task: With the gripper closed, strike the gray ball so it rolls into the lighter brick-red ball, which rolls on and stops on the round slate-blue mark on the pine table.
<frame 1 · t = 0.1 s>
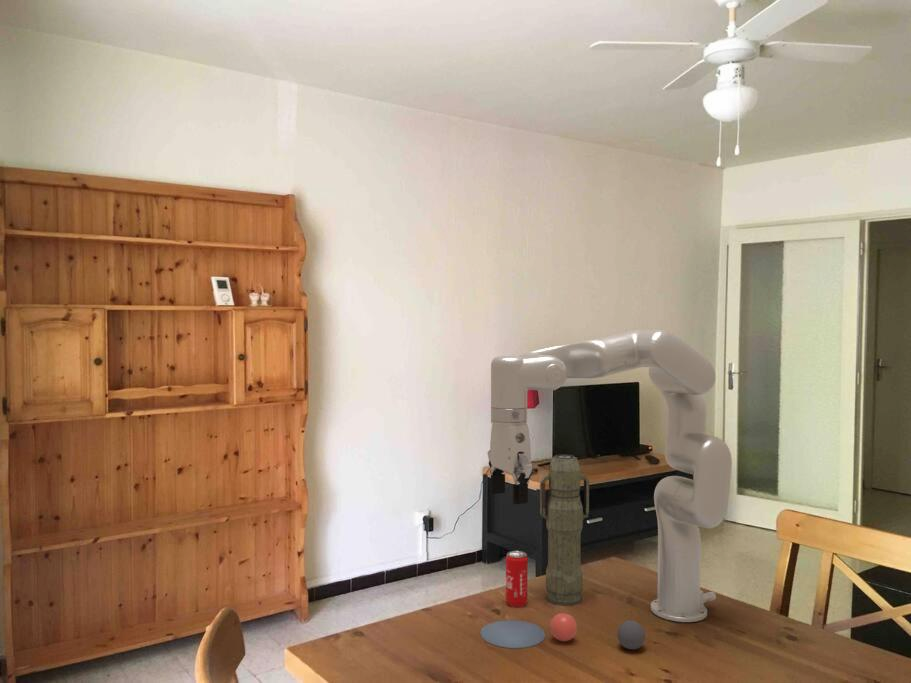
hand: (508, 498, 152), 31 cm above the table, tool pointing down, fingers open, 9 cm apart
beverage can: (516, 604, 177), on the table
gray ball: (631, 635, 152), on the table
thermos: (563, 599, 180), on the table
red ball: (563, 627, 156), on the table
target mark: (512, 634, 159), on the table
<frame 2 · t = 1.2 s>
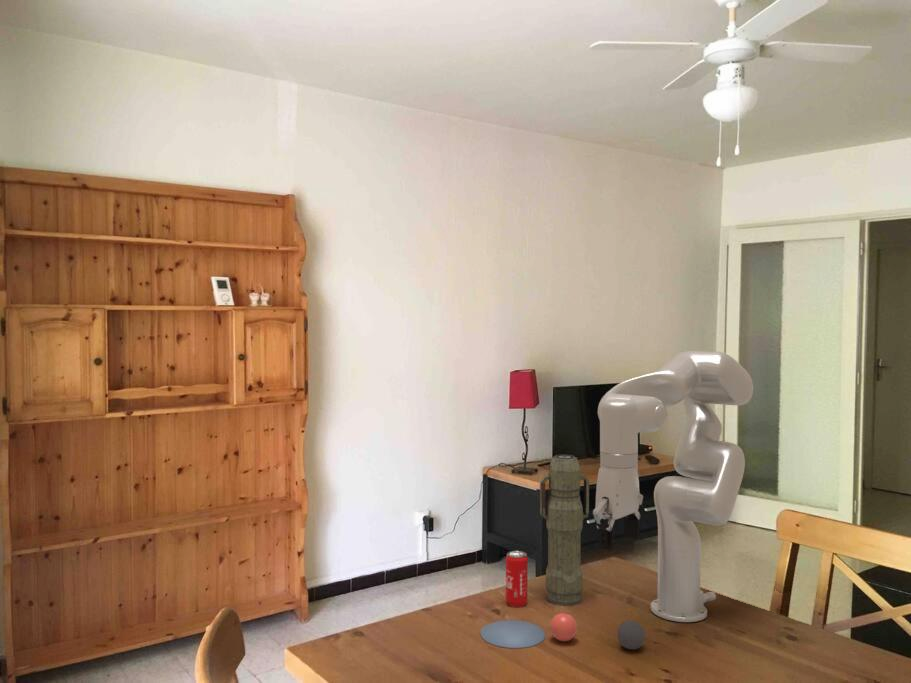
hand: (619, 543, 150), 22 cm above the table, tool pointing down, fingers open, 9 cm apart
nothing on the table moved.
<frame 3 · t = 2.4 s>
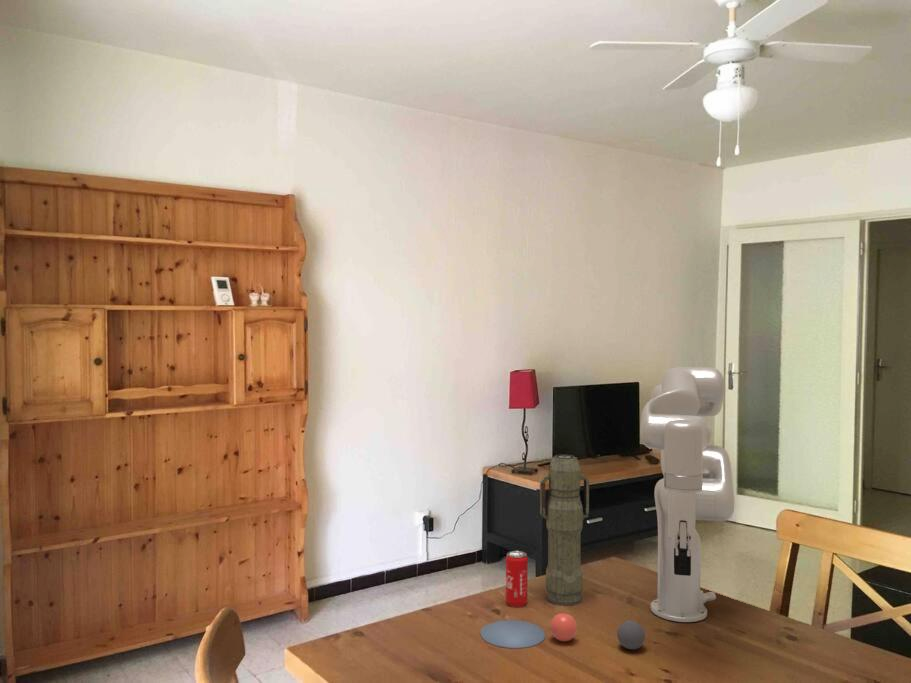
hand: (682, 570, 149), 17 cm above the table, tool pointing down, fingers open, 3 cm apart
nothing on the table moved.
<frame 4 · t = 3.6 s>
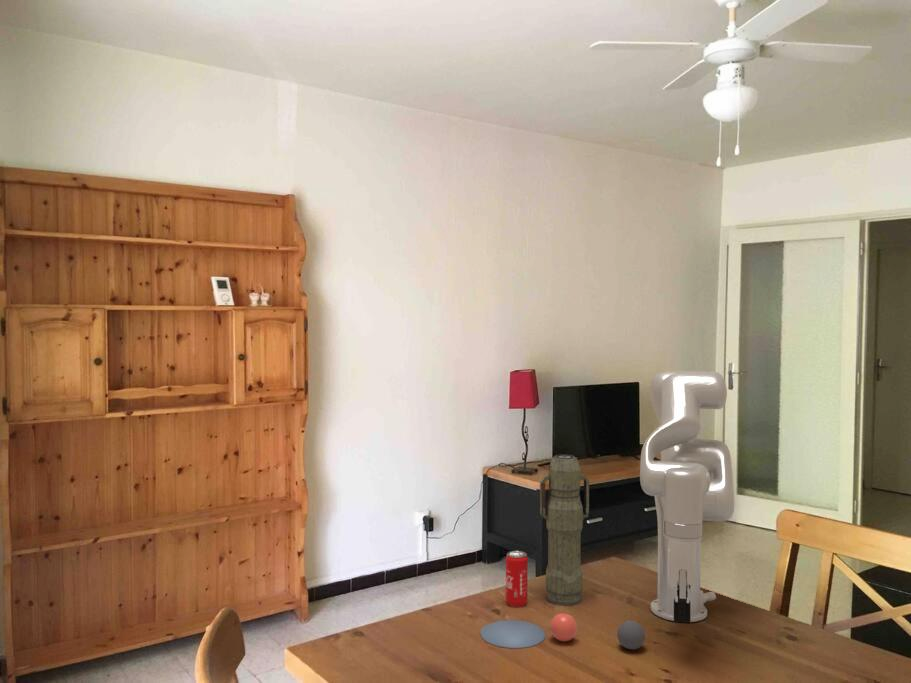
hand: (681, 620, 148), 7 cm above the table, tool pointing down, fingers closed
nothing on the table moved.
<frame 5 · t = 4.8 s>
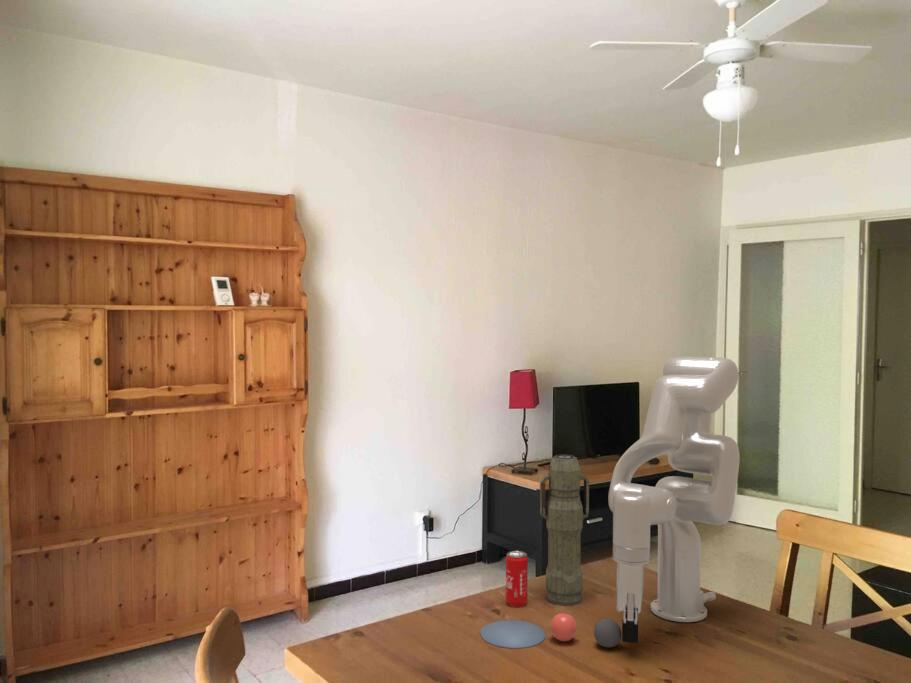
hand: (630, 640, 152), 2 cm above the table, tool pointing down, fingers closed
gray ball: (607, 633, 153), on the table
everything else where it was.
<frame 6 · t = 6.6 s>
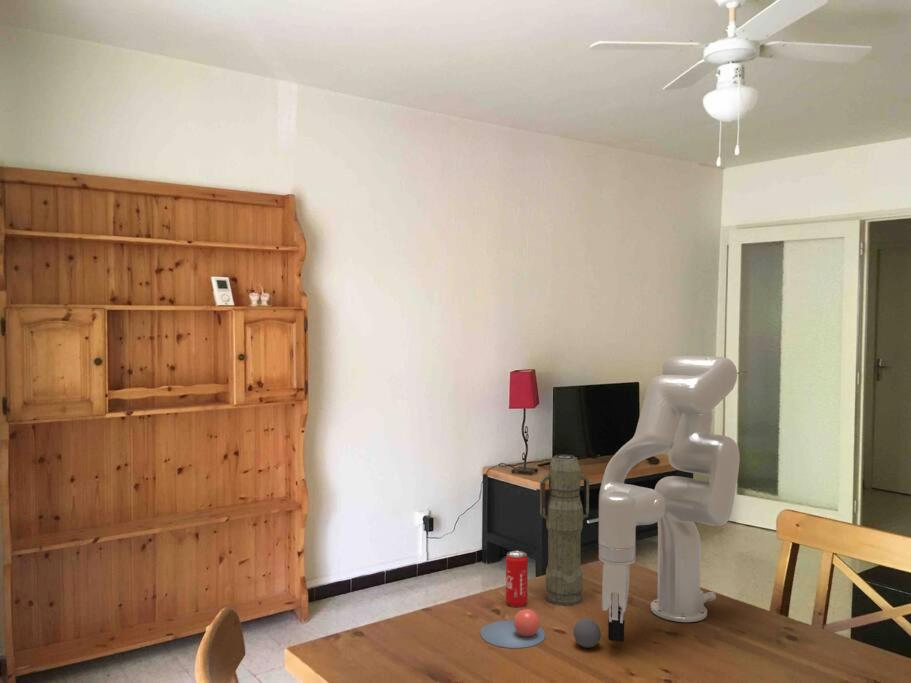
hand: (616, 639, 153), 2 cm above the table, tool pointing down, fingers closed
gray ball: (587, 633, 153), on the table
red ball: (526, 622, 158), on the table
everything else where it was.
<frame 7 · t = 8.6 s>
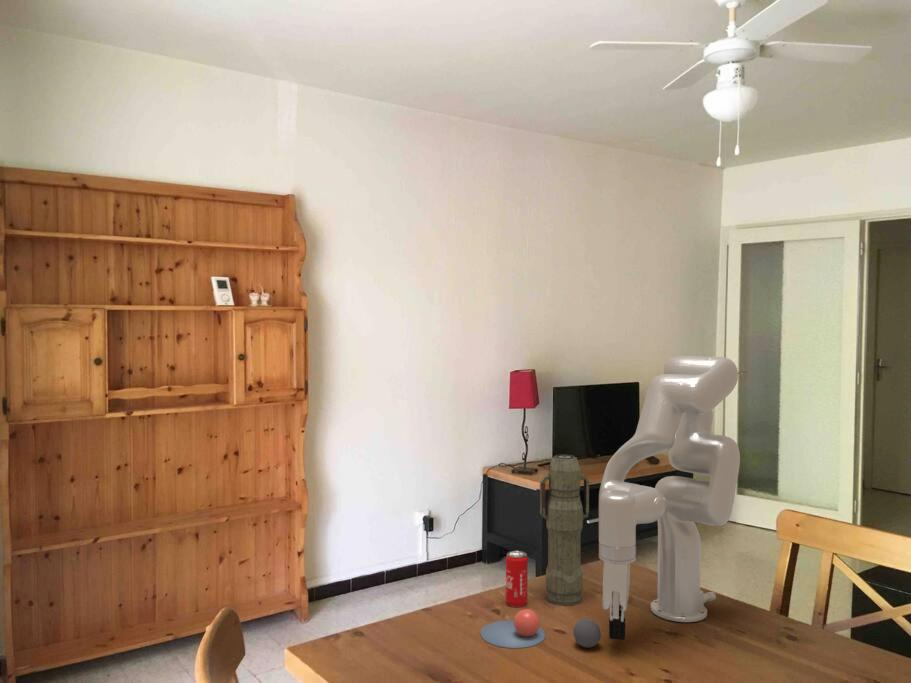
hand: (617, 637, 153), 2 cm above the table, tool pointing down, fingers closed
nothing on the table moved.
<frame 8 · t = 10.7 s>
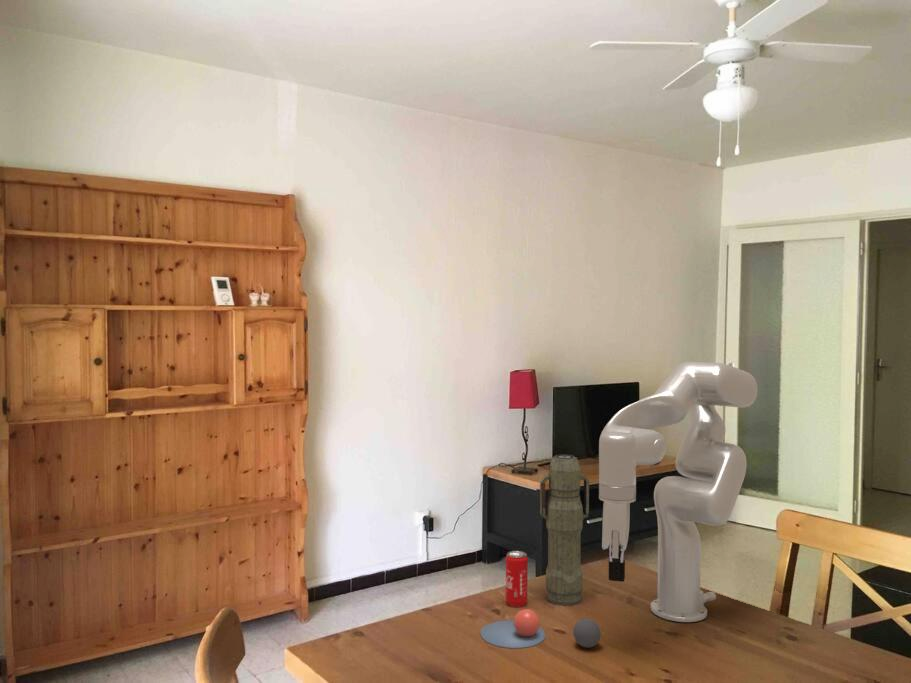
hand: (616, 579, 153), 14 cm above the table, tool pointing down, fingers closed
nothing on the table moved.
at the end: red ball 3.1 cm from the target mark (horizontally); red ball never touched the robot; gray ball first touched red ball at 5.0 s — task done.
